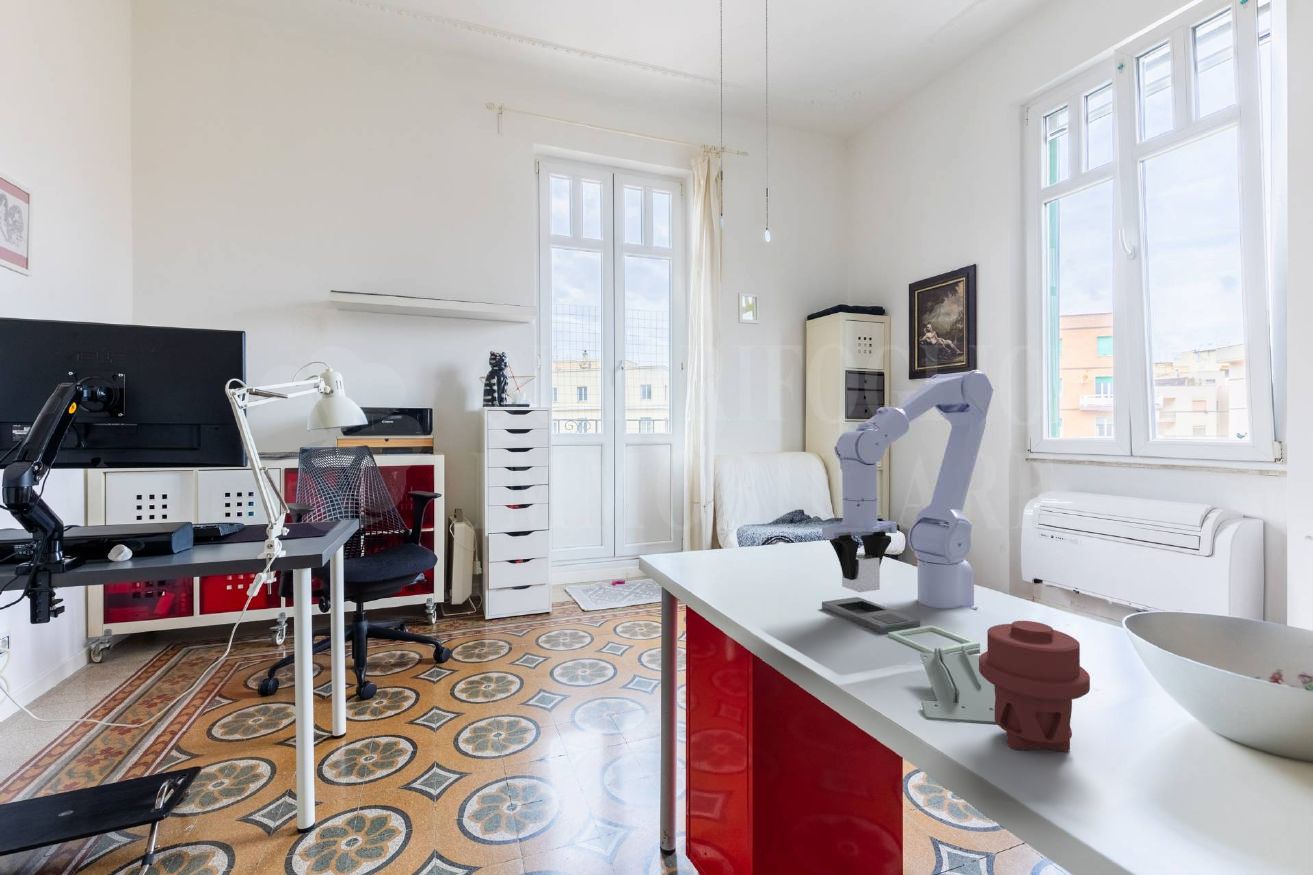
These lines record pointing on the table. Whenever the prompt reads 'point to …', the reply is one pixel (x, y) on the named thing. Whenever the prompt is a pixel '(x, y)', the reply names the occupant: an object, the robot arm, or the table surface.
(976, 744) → the table surface
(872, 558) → the cube with square inset
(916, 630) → the tray
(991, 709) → the metal bracket
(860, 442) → the robot arm
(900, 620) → the plate with square cutouts
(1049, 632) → the mechanical component
